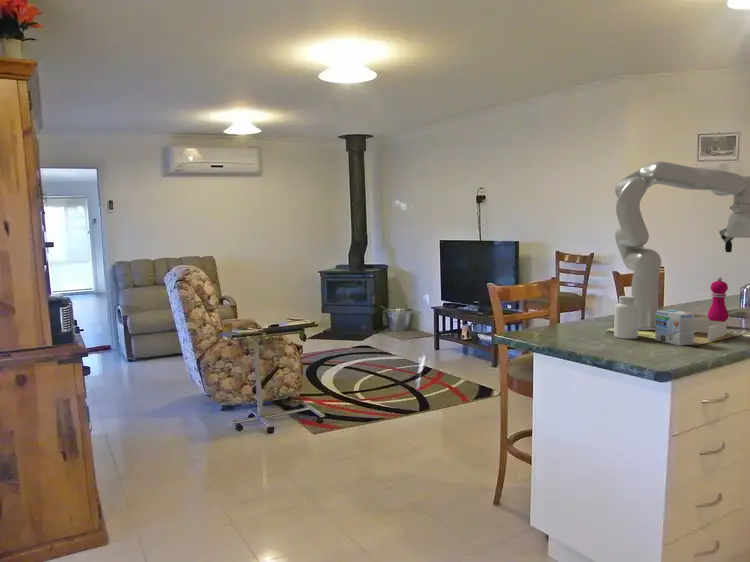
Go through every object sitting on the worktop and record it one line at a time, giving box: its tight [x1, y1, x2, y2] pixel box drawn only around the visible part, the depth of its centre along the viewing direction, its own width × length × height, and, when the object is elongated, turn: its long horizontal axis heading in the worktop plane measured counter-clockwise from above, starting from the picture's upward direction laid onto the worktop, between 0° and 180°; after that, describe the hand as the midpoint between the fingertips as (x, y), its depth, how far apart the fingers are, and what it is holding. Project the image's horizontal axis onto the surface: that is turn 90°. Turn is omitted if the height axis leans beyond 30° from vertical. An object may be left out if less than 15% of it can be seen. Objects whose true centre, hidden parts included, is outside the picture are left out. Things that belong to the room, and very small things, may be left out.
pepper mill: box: [707, 276, 729, 328], centre depth 231 cm, size 7×7×20 cm
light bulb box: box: [654, 309, 696, 346], centre depth 200 cm, size 11×7×11 cm, turn 21°
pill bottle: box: [613, 295, 639, 340], centre depth 210 cm, size 8×8×15 cm
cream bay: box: [694, 318, 727, 343], centre depth 213 cm, size 17×17×5 cm
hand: (741, 252), depth 225 cm, fingers open, 9 cm apart
